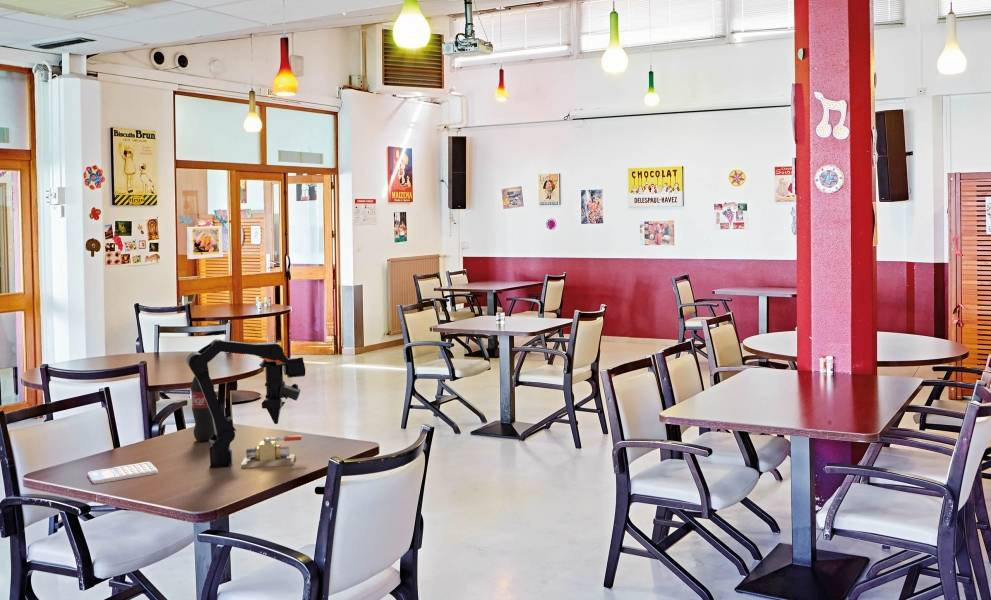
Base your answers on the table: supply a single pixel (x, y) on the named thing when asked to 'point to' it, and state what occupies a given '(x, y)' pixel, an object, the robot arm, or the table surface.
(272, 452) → the brass valve
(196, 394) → the cola bottle
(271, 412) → the robot arm
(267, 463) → the mounting board
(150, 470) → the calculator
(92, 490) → the table surface
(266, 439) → the valve lever
